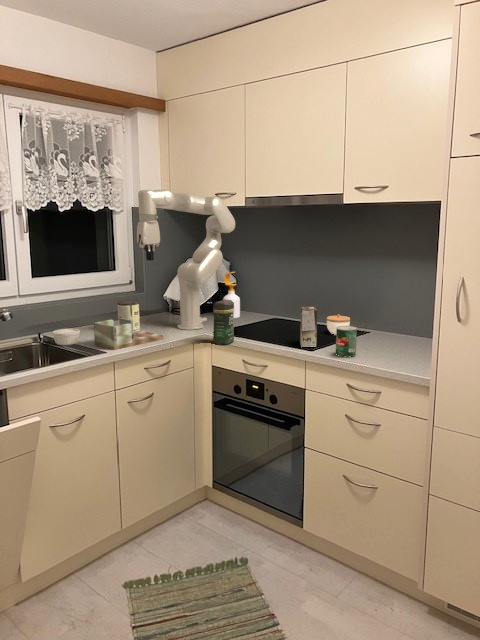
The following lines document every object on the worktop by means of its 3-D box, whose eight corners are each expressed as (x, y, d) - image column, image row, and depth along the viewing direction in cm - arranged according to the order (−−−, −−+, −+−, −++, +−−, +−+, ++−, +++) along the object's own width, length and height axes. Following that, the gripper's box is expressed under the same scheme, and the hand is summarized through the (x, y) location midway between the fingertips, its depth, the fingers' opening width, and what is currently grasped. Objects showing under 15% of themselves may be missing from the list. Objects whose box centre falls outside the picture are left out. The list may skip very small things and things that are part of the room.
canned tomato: (332, 355, 210) (333, 328, 208) (339, 351, 216) (340, 324, 214) (351, 358, 206) (352, 330, 204) (358, 354, 212) (359, 326, 210)
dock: (143, 334, 247) (142, 314, 245) (163, 338, 238) (162, 318, 236) (94, 344, 228) (93, 322, 226) (114, 349, 219) (113, 327, 217)
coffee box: (316, 348, 222) (317, 310, 219) (301, 348, 222) (302, 309, 219) (314, 342, 231) (315, 306, 228) (299, 342, 231) (300, 306, 228)
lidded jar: (354, 334, 247) (355, 314, 245) (339, 337, 240) (339, 317, 238) (336, 330, 255) (337, 311, 253) (321, 333, 248) (321, 313, 246)
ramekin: (85, 340, 236) (84, 328, 235) (72, 346, 225) (71, 334, 224) (62, 339, 238) (61, 327, 237) (48, 345, 228) (47, 333, 227)
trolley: (120, 334, 235) (119, 317, 234) (134, 338, 229) (133, 320, 227) (101, 338, 228) (100, 321, 226) (115, 342, 221) (114, 324, 220)
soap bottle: (234, 319, 282) (233, 272, 278) (219, 317, 287) (219, 271, 282) (243, 316, 290) (243, 271, 285) (229, 314, 295) (229, 270, 290)
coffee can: (122, 327, 261) (120, 299, 259) (142, 328, 260) (141, 299, 258) (115, 332, 251) (113, 302, 249) (136, 333, 250) (135, 303, 248)
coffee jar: (227, 346, 225) (227, 302, 222) (210, 344, 229) (210, 301, 225) (237, 341, 234) (236, 299, 230) (220, 339, 237) (220, 298, 234)
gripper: (155, 218, 245) (157, 258, 248) (129, 219, 234) (131, 261, 237) (166, 218, 240) (168, 259, 244) (140, 219, 229) (142, 262, 233)
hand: (150, 260), depth 241 cm, fingers closed
